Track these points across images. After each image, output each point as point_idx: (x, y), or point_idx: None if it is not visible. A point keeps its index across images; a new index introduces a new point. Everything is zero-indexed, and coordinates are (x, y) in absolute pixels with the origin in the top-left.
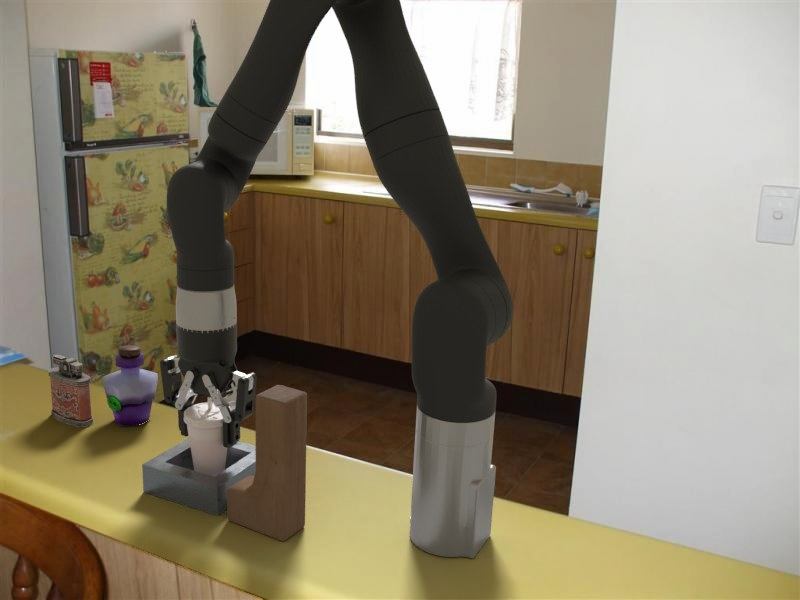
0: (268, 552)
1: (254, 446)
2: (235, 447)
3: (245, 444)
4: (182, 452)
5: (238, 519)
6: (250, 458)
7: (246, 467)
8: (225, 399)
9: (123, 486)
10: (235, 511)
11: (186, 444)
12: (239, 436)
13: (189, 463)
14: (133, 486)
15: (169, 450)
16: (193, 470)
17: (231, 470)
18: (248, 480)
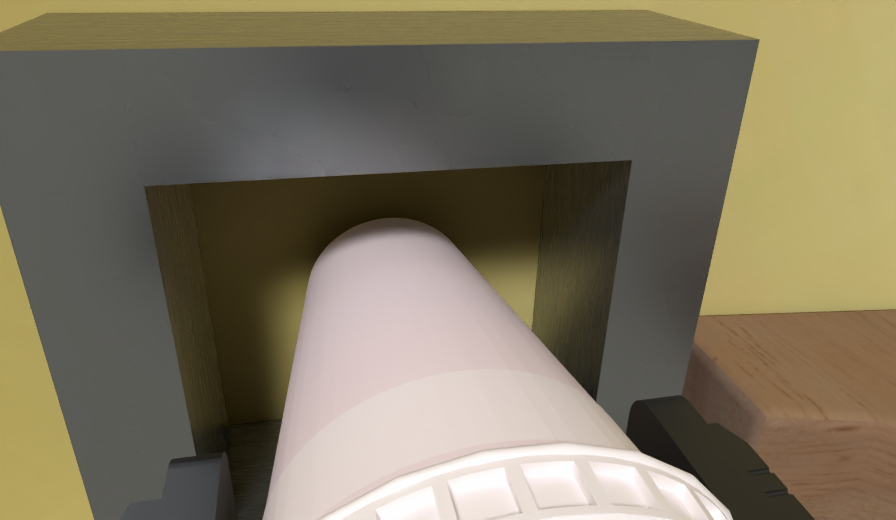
0: None
1: (607, 57)
2: (483, 160)
3: (525, 70)
4: (188, 413)
5: None
6: (666, 234)
7: (694, 335)
8: None
9: (21, 515)
10: None
11: (112, 333)
12: (753, 460)
13: (191, 288)
14: (63, 490)
15: (94, 456)
16: (193, 224)
17: (629, 403)
18: (797, 475)
